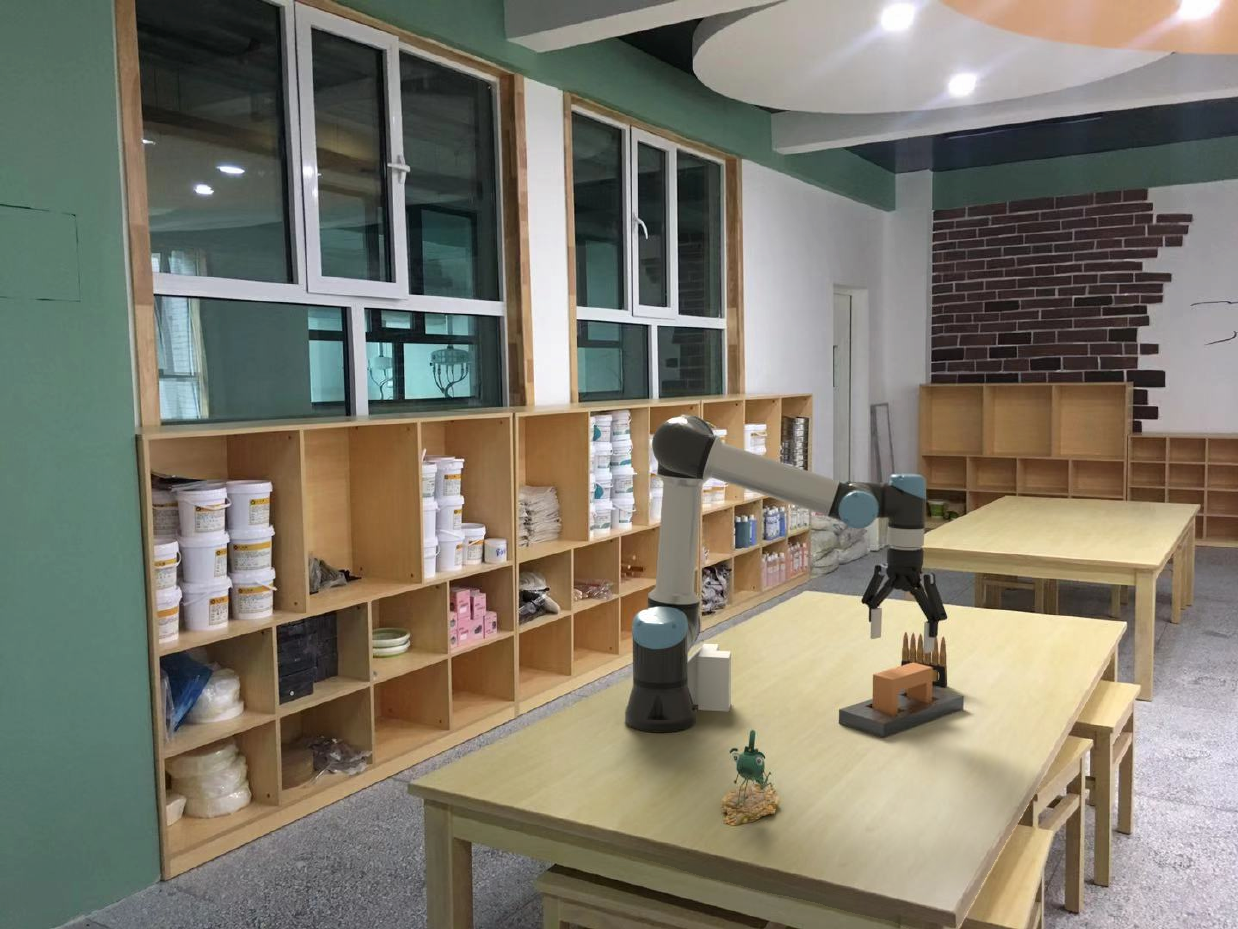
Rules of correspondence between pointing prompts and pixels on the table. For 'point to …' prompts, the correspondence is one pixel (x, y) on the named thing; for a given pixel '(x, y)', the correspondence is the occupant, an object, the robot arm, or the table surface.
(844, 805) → the table surface
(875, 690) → the clip
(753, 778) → the green creature figurine
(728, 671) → the corner bracket
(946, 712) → the gray slotted base board
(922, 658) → the ammunition clip
